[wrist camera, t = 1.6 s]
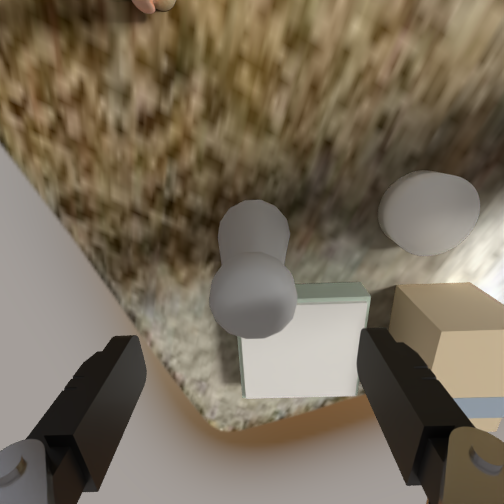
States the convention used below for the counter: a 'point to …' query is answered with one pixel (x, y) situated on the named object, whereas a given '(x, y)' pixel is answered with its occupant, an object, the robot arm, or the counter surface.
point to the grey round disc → (429, 212)
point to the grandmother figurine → (153, 5)
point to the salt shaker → (253, 272)
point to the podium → (309, 346)
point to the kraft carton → (456, 343)
